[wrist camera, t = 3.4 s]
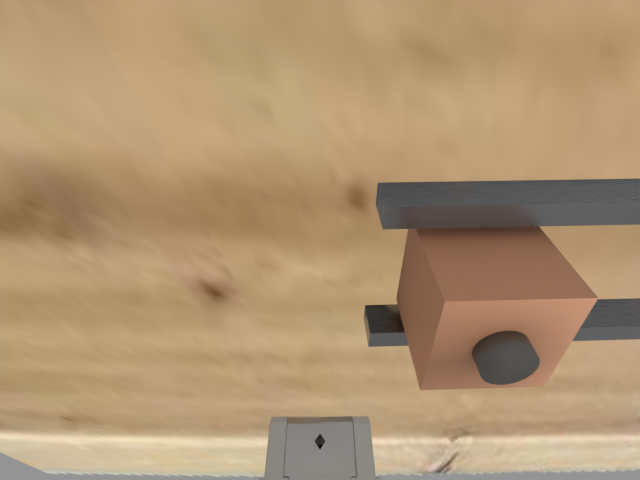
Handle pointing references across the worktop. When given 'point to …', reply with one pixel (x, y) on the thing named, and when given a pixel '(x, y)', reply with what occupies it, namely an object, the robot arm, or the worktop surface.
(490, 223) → the rail
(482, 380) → the block
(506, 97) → the worktop surface
